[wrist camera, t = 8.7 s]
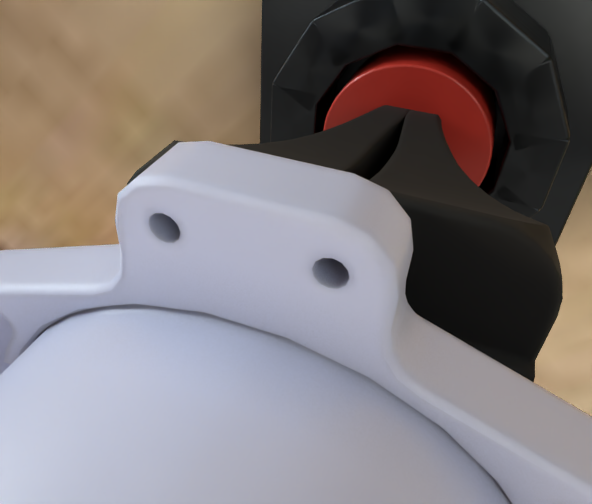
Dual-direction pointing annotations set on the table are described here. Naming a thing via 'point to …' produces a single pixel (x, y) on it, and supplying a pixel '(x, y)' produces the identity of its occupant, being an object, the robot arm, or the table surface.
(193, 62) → the table surface
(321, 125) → the black button base
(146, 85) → the table surface
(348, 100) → the release button
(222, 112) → the table surface
